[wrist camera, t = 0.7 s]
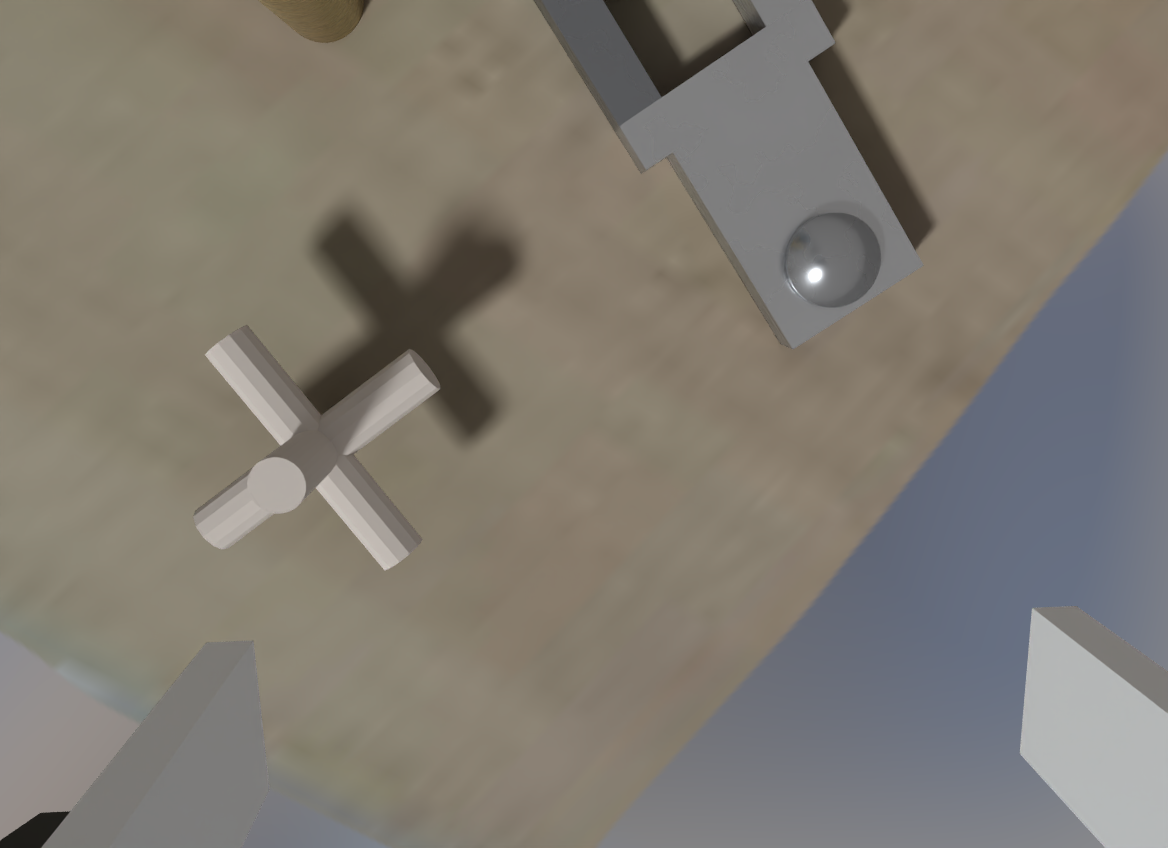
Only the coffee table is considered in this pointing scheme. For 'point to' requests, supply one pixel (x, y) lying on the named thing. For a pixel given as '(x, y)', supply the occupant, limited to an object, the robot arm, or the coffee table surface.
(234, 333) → the pipe connector
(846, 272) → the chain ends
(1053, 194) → the coffee table surface
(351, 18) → the pin
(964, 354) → the coffee table surface
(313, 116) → the coffee table surface
